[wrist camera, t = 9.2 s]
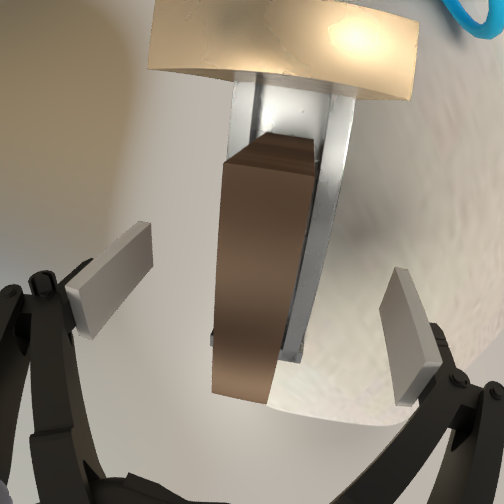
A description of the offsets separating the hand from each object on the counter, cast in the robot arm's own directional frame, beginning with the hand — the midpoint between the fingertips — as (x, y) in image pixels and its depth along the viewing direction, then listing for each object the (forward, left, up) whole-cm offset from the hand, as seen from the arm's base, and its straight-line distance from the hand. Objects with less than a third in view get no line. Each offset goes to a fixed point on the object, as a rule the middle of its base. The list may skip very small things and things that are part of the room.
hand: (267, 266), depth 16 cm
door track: (0, 0, -7) cm, 7 cm away
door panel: (0, 0, -6) cm, 6 cm away
